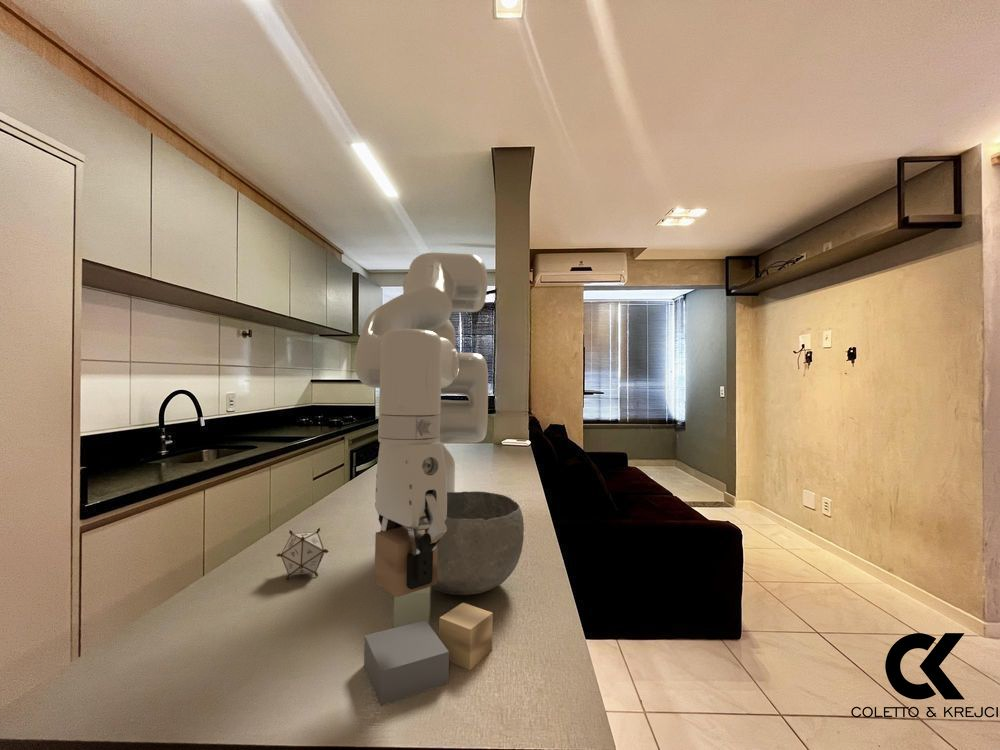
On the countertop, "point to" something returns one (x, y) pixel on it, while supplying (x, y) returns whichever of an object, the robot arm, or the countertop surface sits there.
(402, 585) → the walnut cube
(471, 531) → the bowl
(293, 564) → the game die
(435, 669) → the base block
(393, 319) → the robot arm
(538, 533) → the countertop surface
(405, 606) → the sage cube
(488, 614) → the oak cube
